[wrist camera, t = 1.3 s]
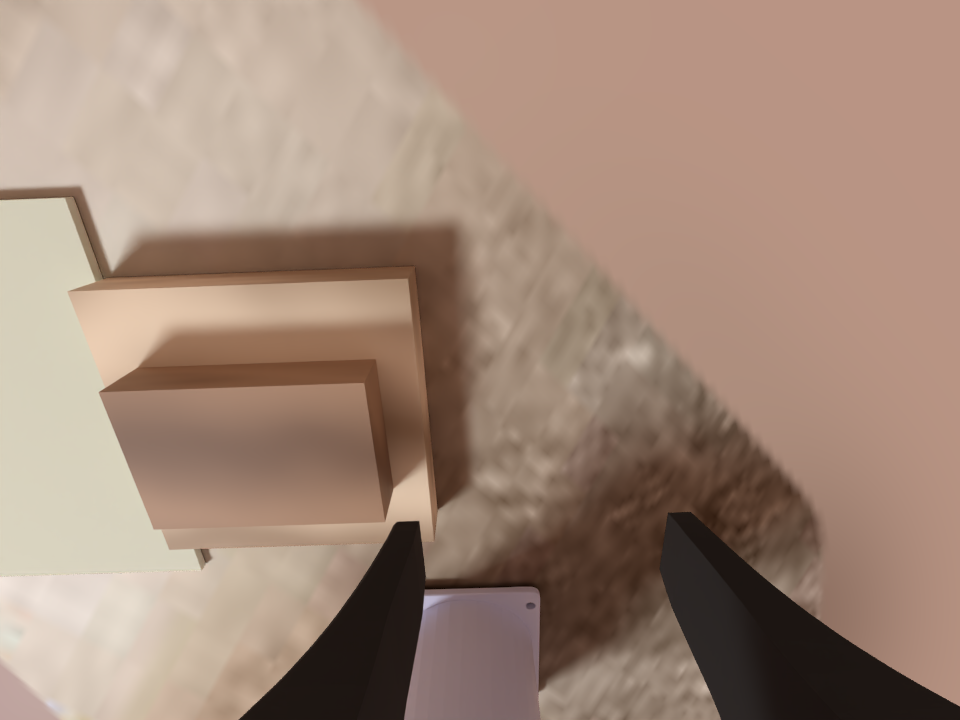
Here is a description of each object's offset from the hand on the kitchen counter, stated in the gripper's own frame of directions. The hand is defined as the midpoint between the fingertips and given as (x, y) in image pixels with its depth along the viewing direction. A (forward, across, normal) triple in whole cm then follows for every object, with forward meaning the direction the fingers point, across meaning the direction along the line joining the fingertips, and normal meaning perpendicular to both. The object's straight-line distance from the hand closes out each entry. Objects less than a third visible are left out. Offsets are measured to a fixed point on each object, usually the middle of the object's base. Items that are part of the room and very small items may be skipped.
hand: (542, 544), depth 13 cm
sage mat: (+8, +22, 0) cm, 23 cm away
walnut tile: (+6, +10, 0) cm, 12 cm away
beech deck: (+8, +10, 0) cm, 13 cm away
